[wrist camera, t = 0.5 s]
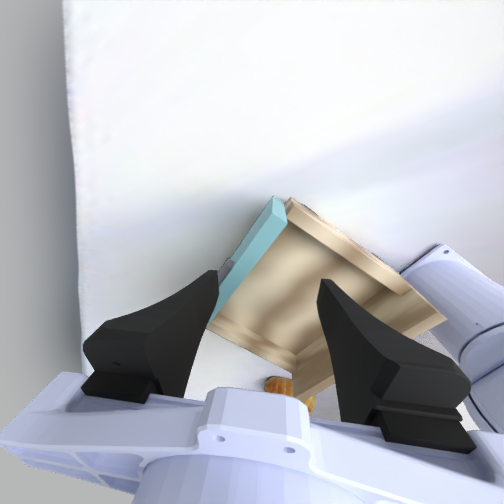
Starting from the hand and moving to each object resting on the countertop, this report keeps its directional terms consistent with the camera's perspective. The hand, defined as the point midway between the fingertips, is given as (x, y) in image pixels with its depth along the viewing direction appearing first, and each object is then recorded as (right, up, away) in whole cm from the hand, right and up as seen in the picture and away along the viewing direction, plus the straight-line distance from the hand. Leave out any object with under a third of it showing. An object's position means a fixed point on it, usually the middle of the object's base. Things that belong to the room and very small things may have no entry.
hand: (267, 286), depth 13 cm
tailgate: (-3, +1, +8) cm, 8 cm away
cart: (+4, -2, +12) cm, 13 cm away
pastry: (+6, -24, +23) cm, 34 cm away
